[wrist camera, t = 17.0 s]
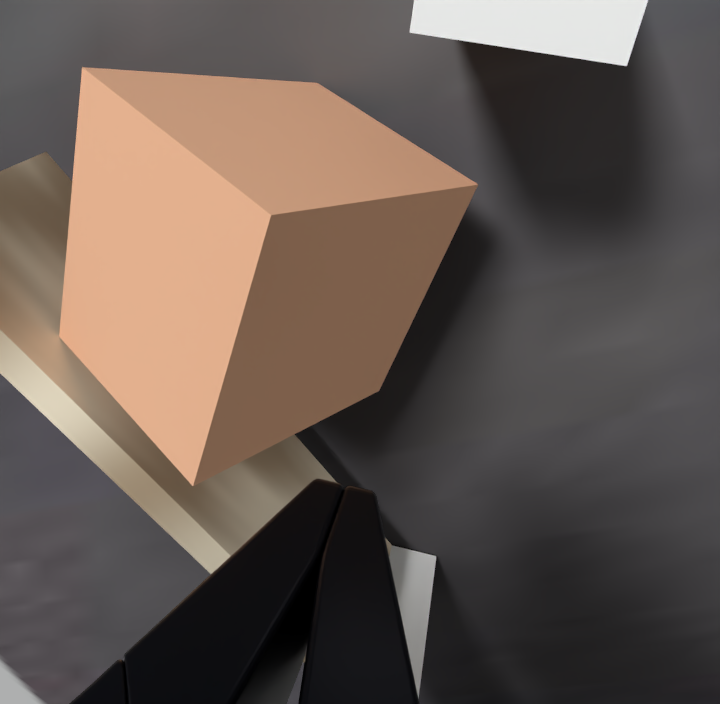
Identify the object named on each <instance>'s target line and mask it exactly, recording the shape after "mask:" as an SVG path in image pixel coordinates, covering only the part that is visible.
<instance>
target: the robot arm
mask: <svg viewBox="0 0 720 704" xmlns="http://www.w3.org/2000/svg"><path fill="white" fill-rule="evenodd" d="M305 654H306V656H305ZM304 657H305V663H304V670H303V677H302V683H301V690H300V697H299V704H419V699H418V694H417V690H416V685H415V680H414V675H413V670H412V665H411V661H410V656H409V651H408V646H407V641H406V636H405V631H404V627H403V622H402V617H401V612H400V607H399V602H398V598H397V593H396V588H395V583H394V578H393V573H392V569H391V564H390V559H389V554H388V549H387V544H386V540H385V535H384V530H383V525H382V520H381V515H380V511H379V506H378V501H377V497H376V494H375V493H374V492H373V491H370V490H366V489H362V488H358V487H353V486H348V487H346V488H345V490H344V486H343V485H342V484H340V483H336V482H332V481H328V480H324V479H315V480H313V481H312V482H310V483H309V484H308V485H307V486H306V487H305V488H304V489H303V490H302V491H301V492H300V493H298V494H297V495H296V496H295V497H294V498H293V499H292V500H291V501H290V502H289V503H288V504H287V505H285V506H284V507H283V508H282V509H281V510H280V511H279V512H278V513H277V514H276V515H275V516H274V517H272V518H271V519H270V520H269V521H268V522H267V523H266V524H265V525H264V526H263V527H262V528H261V529H259V530H258V531H257V532H256V533H255V534H254V535H253V536H252V537H251V538H250V539H249V540H248V541H246V542H245V543H244V544H243V545H242V546H241V547H240V548H239V549H238V550H237V551H236V552H235V553H233V554H232V555H231V556H230V557H229V558H228V559H227V560H226V561H225V562H224V563H223V564H222V565H220V566H219V567H218V568H217V569H216V570H215V571H214V572H213V573H212V574H211V575H210V576H209V577H207V578H206V579H205V580H204V581H203V582H202V583H201V584H200V585H199V586H198V587H197V588H196V589H195V590H193V591H192V592H191V593H190V594H189V595H188V596H187V597H186V598H185V599H184V600H183V601H182V602H180V603H179V604H178V605H177V606H176V607H175V608H174V609H173V610H172V611H171V612H170V613H169V614H167V615H166V616H165V617H164V618H163V619H162V620H161V621H160V622H159V623H158V624H157V625H156V626H154V627H153V628H152V629H151V630H150V631H149V632H148V633H147V634H146V635H145V636H144V637H143V638H141V639H140V640H139V641H138V642H137V643H136V644H135V645H134V646H133V647H132V648H131V649H130V650H128V651H127V652H126V653H125V654H124V662H123V660H117V661H116V662H115V663H114V664H113V665H112V666H111V667H110V668H108V669H107V670H106V671H105V672H104V673H103V674H102V675H101V676H100V677H99V678H98V679H97V680H96V681H94V682H93V683H92V684H91V685H90V686H89V687H88V688H87V689H86V690H84V691H83V692H82V693H81V694H80V695H79V696H78V697H76V698H75V699H74V700H73V701H72V702H71V703H70V704H286V703H287V701H288V698H289V696H290V693H291V691H292V688H293V686H294V683H295V680H296V678H297V675H298V673H299V670H300V668H301V665H302V662H303V660H304Z"/></svg>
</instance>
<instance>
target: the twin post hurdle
mask: <svg viewBox="0 0 720 704" xmlns="http://www.w3.org/2000/svg"><path fill="white" fill-rule="evenodd" d="M647 2H648V0H414V6H413V13H412V20H411V27H410V33H416V34H423V35H429V36H436V37H442V38H449V39H455V40H462V41H468V42H474V43H481V44H487V45H494V46H500V47H507V48H513V49H519V50H526V51H532V52H539V53H545V54H552V55H558V56H564V57H571V58H577V59H584V60H590V61H597V62H603V63H610V64H616V65H622V66H627V64H628V61H629V58H630V55H631V52H632V49H633V45H634V42H635V39H636V36H637V33H638V30H639V27H640V24H641V21H642V17H643V14H644V11H645V8H646V5H647ZM389 559H390V564H391V569H392V573H393V578H394V583H395V588H396V593H397V598H398V602H399V607H400V612H401V617H402V622H403V627H404V631H405V636H406V641H407V646H408V651H409V656H410V661H411V665H412V670H413V675H414V680H415V685H416V690H417V694H418V698H419V690H420V682H421V675H422V667H423V659H424V651H425V643H426V635H427V627H428V619H429V611H430V603H431V595H432V587H433V579H434V572H435V564H436V556H434V555H429V554H425V553H421V552H417V551H413V550H409V549H405V548H401V547H396V546H391V551H390V556H389Z"/></svg>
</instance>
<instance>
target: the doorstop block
mask: <svg viewBox="0 0 720 704" xmlns="http://www.w3.org/2000/svg"><path fill="white" fill-rule="evenodd" d="M477 186H478V184H477V183H475V182H473V181H472V180H470V179H469V178H467V177H465V176H464V175H462V174H461V173H459V172H457V171H456V170H454V169H453V168H451V167H450V166H448V165H446V164H445V163H443V162H442V161H440V160H438V159H437V158H435V157H434V156H432V155H431V154H429V153H427V152H426V151H424V150H423V149H421V148H419V147H418V146H416V145H415V144H413V143H412V142H410V141H408V140H407V139H405V138H404V137H402V136H400V135H399V134H397V133H396V132H394V131H393V130H391V129H389V128H388V127H386V126H385V125H383V124H381V123H380V122H378V121H377V120H375V119H374V118H372V117H370V116H369V115H367V114H366V113H364V112H362V111H361V110H359V109H358V108H356V107H355V106H353V105H351V104H350V103H348V102H347V101H345V100H343V99H342V98H340V97H339V96H337V95H335V94H334V93H332V92H331V91H329V90H328V89H326V88H324V87H323V86H321V85H320V84H318V83H309V82H294V81H279V80H264V79H249V78H234V77H219V76H205V75H190V74H175V73H160V72H145V71H130V70H115V69H100V68H85V67H82V76H81V88H80V99H79V111H78V123H77V134H76V146H75V157H74V169H73V181H72V192H71V204H70V216H69V227H68V239H67V250H66V262H65V274H64V285H63V297H62V309H61V320H60V332H59V337H60V338H61V339H62V340H63V341H64V343H65V344H66V345H67V346H68V347H69V348H70V349H71V350H72V352H73V353H74V354H75V355H76V356H77V357H78V358H79V359H80V361H81V362H82V363H83V364H84V365H85V366H86V367H87V368H88V369H89V371H90V372H91V373H92V374H93V375H94V376H95V377H96V378H97V380H98V381H99V382H100V383H101V384H102V385H103V386H104V387H105V388H106V390H107V391H108V392H109V393H110V394H111V395H112V396H113V397H114V399H115V400H116V401H117V402H118V403H119V404H120V405H121V406H122V408H123V409H124V410H125V411H126V412H127V413H128V414H129V415H130V416H131V418H132V419H133V420H134V421H135V422H136V423H137V424H138V425H139V427H140V428H141V429H142V430H143V431H144V432H145V433H146V434H147V436H148V437H149V438H150V439H151V440H152V441H153V442H154V443H155V444H156V446H157V447H158V448H159V449H160V450H161V451H162V452H163V453H164V455H165V456H166V457H167V458H168V459H169V460H170V461H171V462H172V464H173V465H174V466H175V467H176V468H177V469H178V470H179V471H180V472H181V474H182V475H183V476H184V477H185V478H186V479H187V480H188V481H189V483H190V484H191V485H192V486H195V485H197V484H199V483H201V482H203V481H205V480H207V479H209V478H210V477H212V476H214V475H216V474H218V473H220V472H222V471H224V470H226V469H228V468H230V467H232V466H234V465H236V464H238V463H240V462H242V461H244V460H245V459H247V458H249V457H251V456H253V455H255V454H257V453H259V452H261V451H263V450H265V449H267V448H269V447H271V446H273V445H275V444H277V443H279V442H280V441H282V440H284V439H286V438H288V437H290V436H292V435H294V434H296V433H298V432H300V431H302V430H304V429H306V428H308V427H310V426H312V425H314V424H316V423H317V422H319V421H321V420H323V419H325V418H327V417H329V416H331V415H333V414H335V413H337V412H339V411H341V410H343V409H345V408H347V407H349V406H351V405H352V404H354V403H356V402H358V401H360V400H362V399H364V398H366V397H368V396H370V395H372V394H374V393H376V392H378V391H379V390H380V388H381V386H382V384H383V382H384V380H385V378H386V375H387V373H388V371H389V369H390V367H391V365H392V363H393V361H394V359H395V357H396V355H397V353H398V351H399V348H400V346H401V344H402V342H403V340H404V338H405V336H406V334H407V332H408V330H409V328H410V326H411V323H412V321H413V319H414V317H415V315H416V313H417V311H418V309H419V307H420V305H421V303H422V301H423V299H424V296H425V294H426V292H427V290H428V288H429V286H430V284H431V282H432V280H433V278H434V276H435V274H436V271H437V269H438V267H439V265H440V263H441V261H442V259H443V257H444V255H445V253H446V251H447V249H448V246H449V244H450V242H451V240H452V238H453V236H454V234H455V232H456V230H457V228H458V226H459V224H460V222H461V219H462V217H463V215H464V213H465V211H466V209H467V207H468V205H469V203H470V201H471V199H472V197H473V194H474V192H475V190H476V188H477Z"/></svg>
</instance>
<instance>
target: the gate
mask: <svg viewBox="0 0 720 704" xmlns="http://www.w3.org/2000/svg"><path fill="white" fill-rule="evenodd" d="M71 192H72V181H71V180H70V179H69V177H68V176H67V175H66V174H65V173H64V172H63V171H62V169H61V168H60V167H59V166H58V165H57V164H56V163H55V161H54V160H53V159H52V158H51V157H50V156H49V155H48V153H47V152H44V153H42V154H40V155H37V156H35V157H33V158H30V159H28V160H26V161H23V162H21V163H19V164H16V165H14V166H12V167H9V168H7V169H5V170H2V171H0V373H1V374H2V375H3V376H4V377H5V378H6V379H7V380H8V381H9V382H10V383H11V384H12V385H13V386H14V387H15V388H16V389H17V390H18V391H19V392H21V393H22V394H23V395H24V396H25V397H26V398H27V399H28V400H29V401H30V402H31V403H32V404H33V405H34V406H35V407H36V408H37V409H38V410H39V411H40V412H42V413H43V414H44V415H45V416H46V417H47V418H48V419H49V420H50V421H51V422H52V423H53V424H54V425H55V426H56V427H57V428H58V429H59V430H60V431H61V432H63V433H64V434H65V435H66V436H67V437H68V438H69V439H70V440H71V441H72V442H73V443H74V444H75V445H76V446H77V447H78V448H79V449H80V450H81V451H82V452H84V453H85V454H86V455H87V456H88V457H89V458H90V459H91V460H92V461H93V462H94V463H95V464H96V465H97V466H98V467H99V468H100V469H101V470H102V471H103V472H105V473H106V474H107V475H108V476H109V477H110V478H111V479H112V480H113V481H114V482H115V483H116V484H117V485H118V486H119V487H120V488H121V489H122V490H123V491H124V492H126V493H127V494H128V495H129V496H130V497H131V498H132V499H133V500H134V501H135V502H136V503H137V504H138V505H139V506H140V507H141V508H142V509H143V510H144V511H145V512H147V513H148V514H149V515H150V516H151V517H152V518H153V519H154V520H155V521H156V522H157V523H158V524H159V525H160V526H161V527H162V528H163V529H164V530H165V531H166V532H167V533H169V534H170V535H171V536H172V537H173V538H174V539H175V540H176V541H177V542H178V543H179V544H180V545H181V546H182V547H183V548H184V549H185V550H186V551H187V552H188V553H190V554H191V555H192V556H193V557H194V558H195V559H196V560H197V561H198V562H199V563H200V564H201V565H202V566H203V567H204V568H205V569H206V570H207V571H208V572H209V573H211V574H212V573H213V572H214V571H215V570H216V569H217V568H218V567H219V566H220V565H222V564H223V563H224V562H225V561H226V560H227V559H228V558H229V557H230V556H231V555H232V554H233V553H235V552H236V551H237V550H238V549H239V548H240V547H241V546H242V545H243V544H244V543H245V542H246V541H248V540H249V539H250V538H251V537H252V536H253V535H254V534H255V533H256V532H257V531H258V530H259V529H261V528H262V527H263V526H264V525H265V524H266V523H267V522H268V521H269V520H270V519H271V518H272V517H274V516H275V515H276V514H277V513H278V512H279V511H280V510H281V509H282V508H283V507H284V506H285V505H287V504H288V503H289V502H290V501H291V500H292V499H293V498H294V497H295V496H296V495H297V494H298V493H300V492H301V491H302V490H303V489H304V488H305V487H306V486H307V485H308V484H309V483H310V482H312V481H313V480H315V479H324V480H328V481H332V482H336V481H335V480H334V479H333V478H332V476H331V475H330V474H329V473H328V472H327V471H326V470H325V468H324V467H323V466H322V465H321V464H320V463H319V462H318V460H317V459H316V458H315V457H314V456H313V455H312V454H311V453H310V451H309V450H308V449H307V448H306V447H305V446H304V445H303V443H302V442H301V441H300V440H299V439H298V438H297V437H296V435H295V434H294V435H292V436H290V437H288V438H286V439H284V440H282V441H280V442H279V443H277V444H275V445H273V446H271V447H269V448H267V449H265V450H263V451H261V452H259V453H257V454H255V455H253V456H251V457H249V458H247V459H245V460H244V461H242V462H240V463H238V464H236V465H234V466H232V467H230V468H228V469H226V470H224V471H222V472H220V473H218V474H216V475H214V476H212V477H210V478H209V479H207V480H205V481H203V482H201V483H199V484H197V485H195V486H192V485H191V484H190V483H189V481H188V480H187V479H186V478H185V477H184V476H183V475H182V474H181V472H180V471H179V470H178V469H177V468H176V467H175V466H174V465H173V464H172V462H171V461H170V460H169V459H168V458H167V457H166V456H165V455H164V453H163V452H162V451H161V450H160V449H159V448H158V447H157V446H156V444H155V443H154V442H153V441H152V440H151V439H150V438H149V437H148V436H147V434H146V433H145V432H144V431H143V430H142V429H141V428H140V427H139V425H138V424H137V423H136V422H135V421H134V420H133V419H132V418H131V416H130V415H129V414H128V413H127V412H126V411H125V410H124V409H123V408H122V406H121V405H120V404H119V403H118V402H117V401H116V400H115V399H114V397H113V396H112V395H111V394H110V393H109V392H108V391H107V390H106V388H105V387H104V386H103V385H102V384H101V383H100V382H99V381H98V380H97V378H96V377H95V376H94V375H93V374H92V373H91V372H90V371H89V369H88V368H87V367H86V366H85V365H84V364H83V363H82V362H81V361H80V359H79V358H78V357H77V356H76V355H75V354H74V353H73V352H72V350H71V349H70V348H69V347H68V346H67V345H66V344H65V343H64V341H63V340H62V339H61V338H60V337H59V332H60V320H61V309H62V297H63V285H64V274H65V262H66V250H67V239H68V227H69V216H70V204H71ZM336 483H337V482H336ZM385 540H386V544H387V549H388V554H389V556H390V551H391V546H392V545H391V544H390V542H389V541H388V540H387V539H386V538H385ZM305 656H306V654H305ZM303 662H304V663H305V657H304V660H303Z"/></svg>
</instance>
